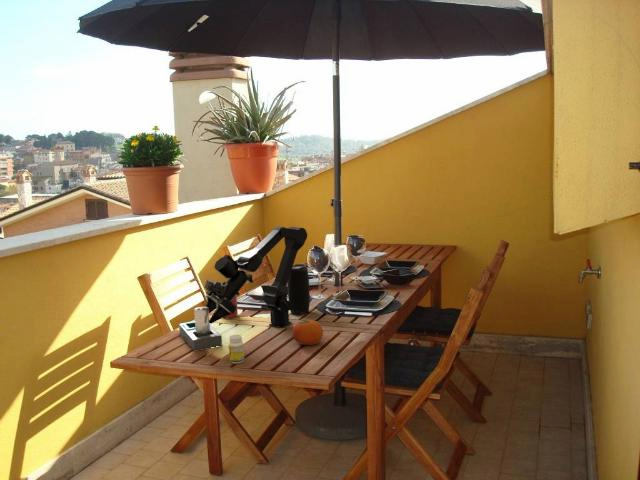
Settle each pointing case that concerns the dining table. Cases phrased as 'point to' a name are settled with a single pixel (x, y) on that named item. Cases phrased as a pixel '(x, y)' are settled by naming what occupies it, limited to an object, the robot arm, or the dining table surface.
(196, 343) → the jig plate
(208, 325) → the steel sleeve
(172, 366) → the dining table surface
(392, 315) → the dining table surface
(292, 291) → the portable speaker
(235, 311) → the beer can
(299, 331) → the fruit
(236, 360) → the supplement bottle
